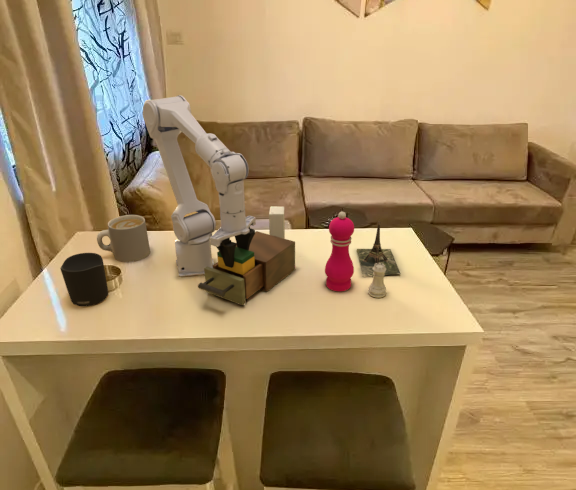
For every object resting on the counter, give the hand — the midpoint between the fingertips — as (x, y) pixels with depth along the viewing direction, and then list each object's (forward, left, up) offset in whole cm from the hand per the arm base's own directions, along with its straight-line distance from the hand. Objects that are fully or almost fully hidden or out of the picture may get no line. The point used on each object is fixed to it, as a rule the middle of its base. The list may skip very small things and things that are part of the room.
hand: (236, 261), depth 116 cm
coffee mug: (-29, +27, -9) cm, 41 cm away
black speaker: (-36, +5, -9) cm, 37 cm away
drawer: (-1, -1, -8) cm, 8 cm away
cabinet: (+7, +7, -8) cm, 13 cm away
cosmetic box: (+14, +21, -9) cm, 27 cm away
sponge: (0, 0, -1) cm, 1 cm away
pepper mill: (+25, -3, -9) cm, 27 cm away
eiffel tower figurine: (+39, +6, -9) cm, 41 cm away
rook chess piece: (+33, -9, -9) cm, 35 cm away
